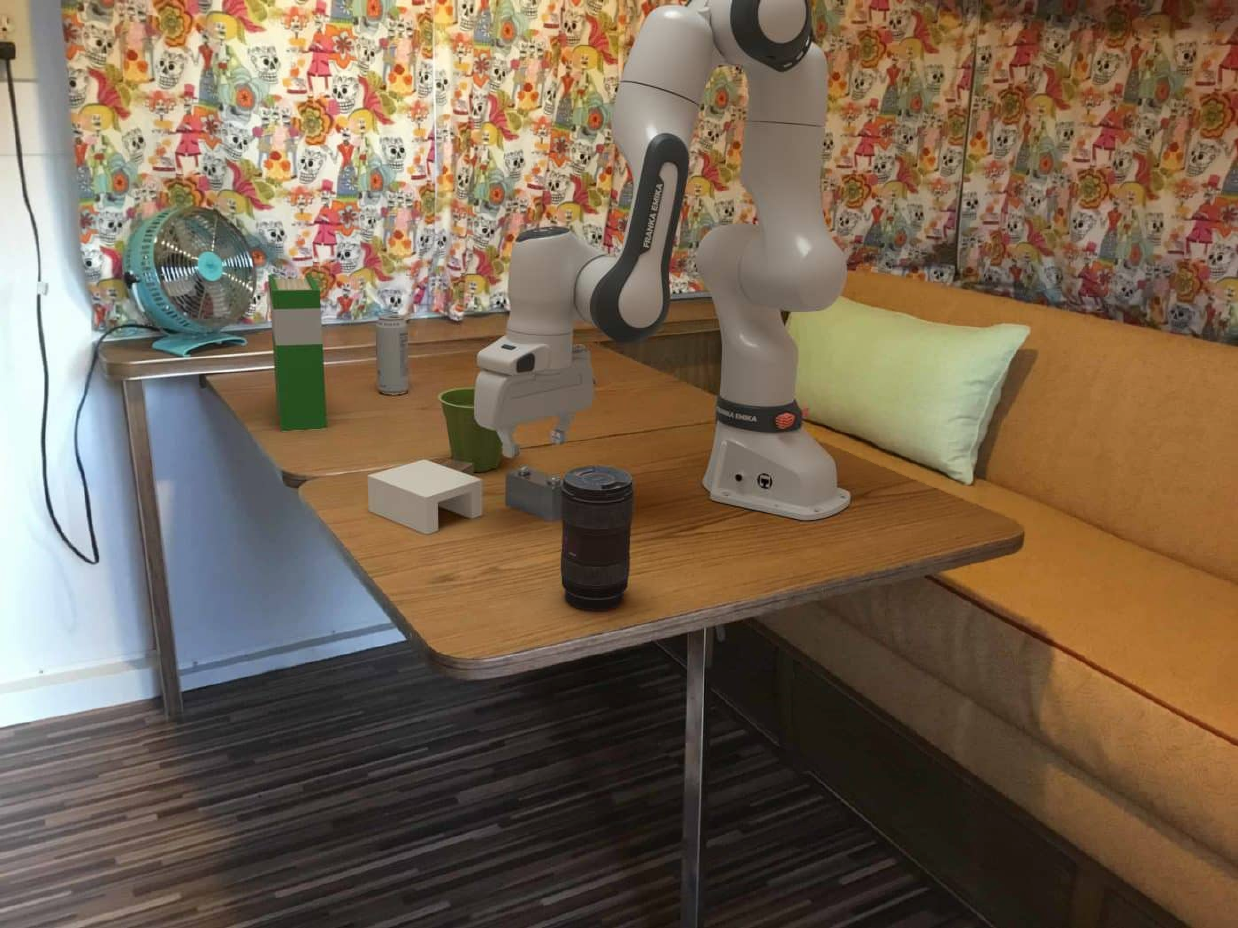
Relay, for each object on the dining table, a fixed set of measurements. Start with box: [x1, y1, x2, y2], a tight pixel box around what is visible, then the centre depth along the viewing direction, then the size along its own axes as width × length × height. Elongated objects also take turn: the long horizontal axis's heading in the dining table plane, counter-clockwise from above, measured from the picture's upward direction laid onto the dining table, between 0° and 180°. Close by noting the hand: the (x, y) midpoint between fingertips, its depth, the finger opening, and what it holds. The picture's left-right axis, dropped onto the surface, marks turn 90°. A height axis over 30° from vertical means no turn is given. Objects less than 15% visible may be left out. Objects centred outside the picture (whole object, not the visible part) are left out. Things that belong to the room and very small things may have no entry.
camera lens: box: [560, 465, 635, 611], centre depth 116 cm, size 8×8×15 cm
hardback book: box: [267, 273, 328, 432], centre depth 179 cm, size 18×7×24 cm, turn 20°
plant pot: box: [437, 387, 503, 473], centre depth 159 cm, size 12×12×11 cm
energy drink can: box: [374, 313, 410, 394], centre depth 199 cm, size 6×6×15 cm
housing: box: [504, 464, 563, 523], centre depth 143 cm, size 9×4×6 cm, turn 51°
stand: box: [367, 459, 483, 535], centre depth 140 cm, size 12×10×5 cm
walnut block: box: [440, 459, 474, 477], centre depth 150 cm, size 4×4×4 cm
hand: (535, 449), depth 141 cm, fingers open, 8 cm apart
